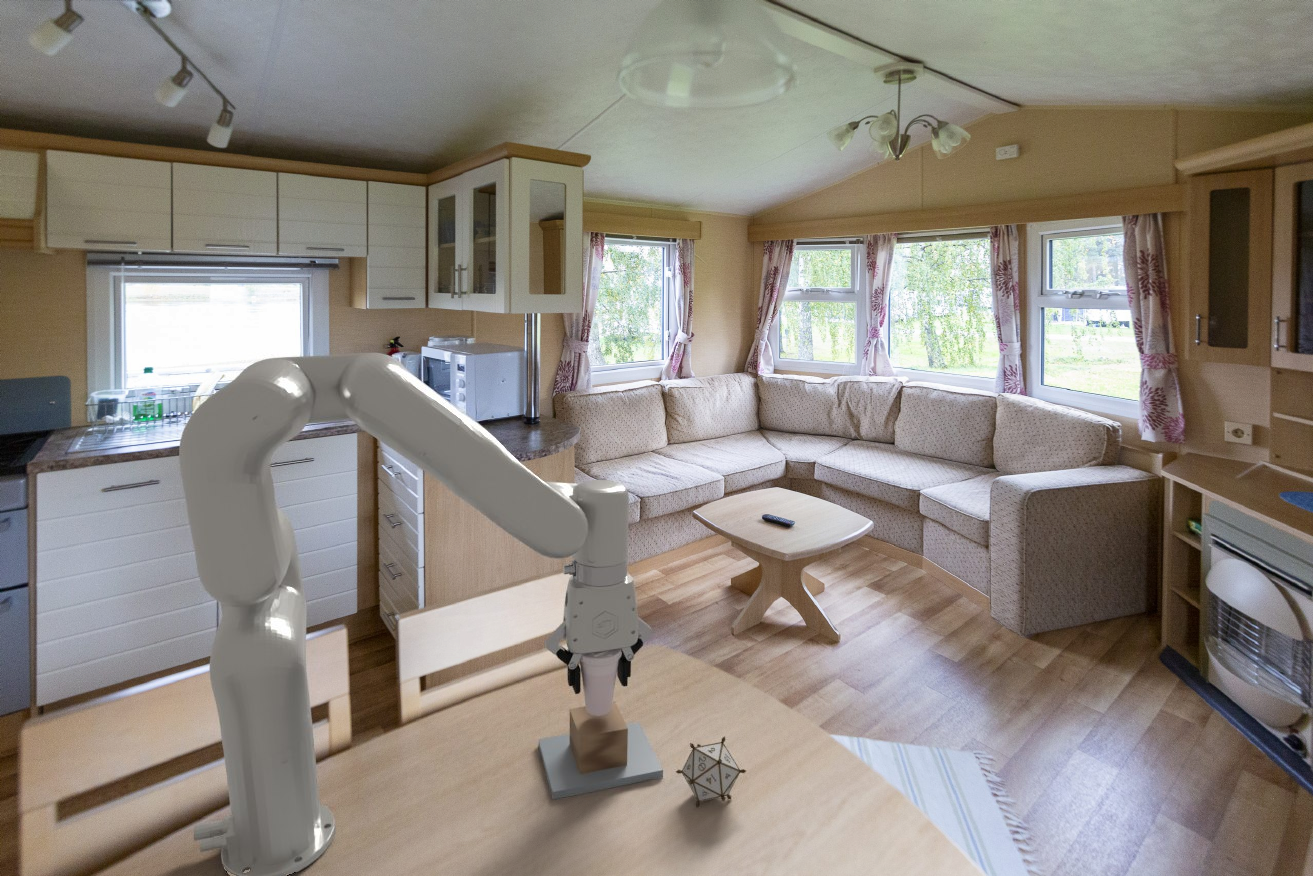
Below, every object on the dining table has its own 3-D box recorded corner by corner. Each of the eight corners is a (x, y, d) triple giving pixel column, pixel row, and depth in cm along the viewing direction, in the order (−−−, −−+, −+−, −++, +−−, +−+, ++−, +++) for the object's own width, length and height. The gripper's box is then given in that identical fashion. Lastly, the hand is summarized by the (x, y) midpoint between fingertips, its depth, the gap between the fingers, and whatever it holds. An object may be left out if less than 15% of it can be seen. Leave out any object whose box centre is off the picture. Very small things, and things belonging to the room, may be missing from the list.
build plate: (552, 799, 99) (552, 792, 99) (538, 746, 110) (538, 739, 110) (662, 777, 104) (663, 770, 104) (638, 728, 115) (638, 721, 115)
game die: (718, 827, 100) (740, 808, 93) (663, 799, 101) (680, 778, 93) (737, 765, 106) (759, 743, 99) (684, 739, 107) (702, 715, 99)
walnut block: (579, 774, 102) (579, 737, 101) (569, 744, 109) (569, 709, 107) (627, 765, 105) (627, 728, 103) (614, 736, 111) (614, 701, 110)
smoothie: (571, 718, 103) (571, 628, 99) (583, 693, 109) (583, 607, 106) (615, 724, 101) (616, 633, 98) (625, 698, 108) (626, 612, 105)
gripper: (543, 587, 94) (544, 709, 98) (668, 573, 99) (664, 690, 103) (533, 565, 101) (535, 680, 105) (651, 553, 106) (648, 663, 110)
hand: (599, 684), depth 104 cm, fingers closed on smoothie, 6 cm apart
